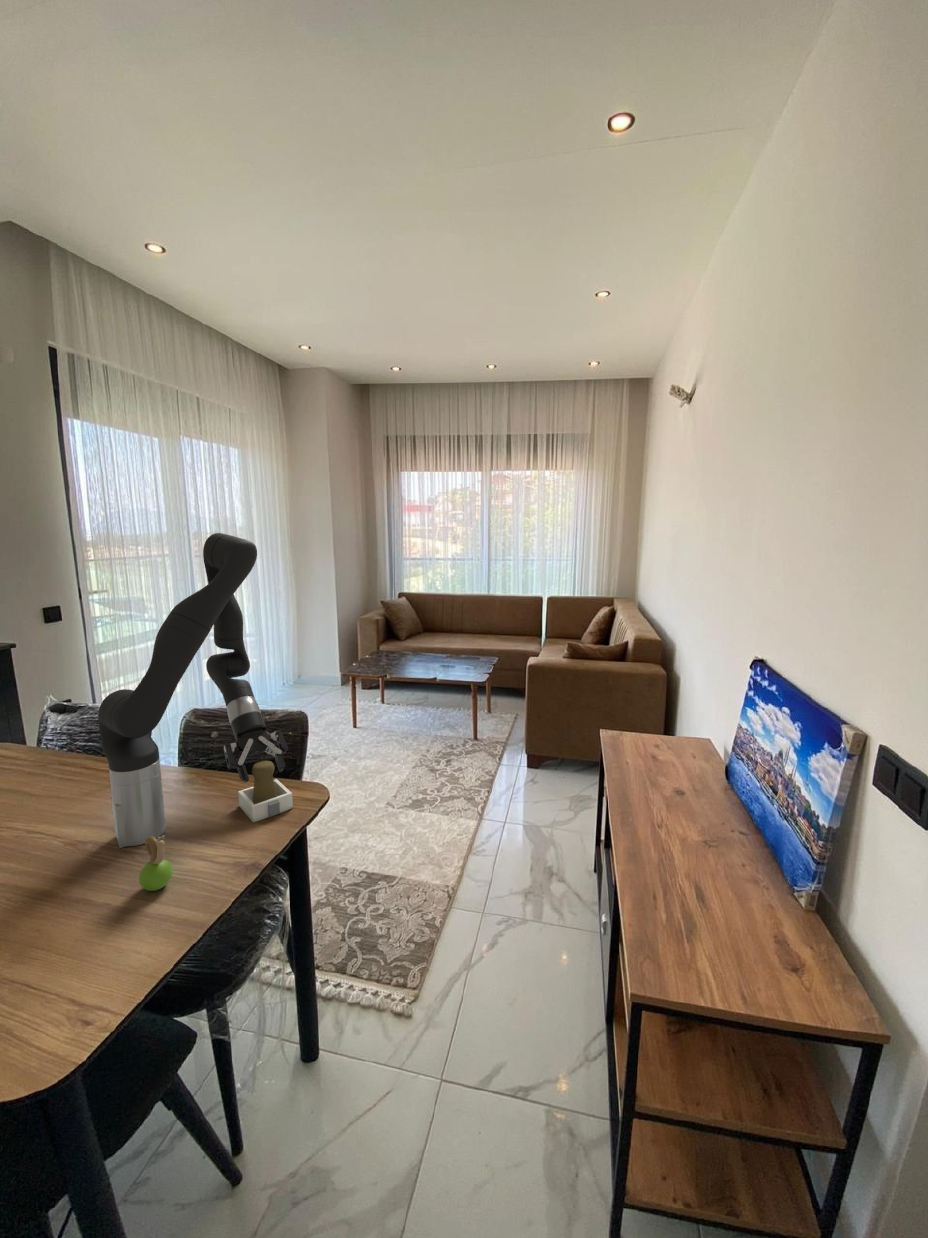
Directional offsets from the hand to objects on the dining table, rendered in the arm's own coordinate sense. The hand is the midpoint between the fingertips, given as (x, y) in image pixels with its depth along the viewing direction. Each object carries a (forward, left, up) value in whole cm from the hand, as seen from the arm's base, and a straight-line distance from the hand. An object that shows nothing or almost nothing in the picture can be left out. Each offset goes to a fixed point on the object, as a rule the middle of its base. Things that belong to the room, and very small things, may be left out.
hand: (264, 775), depth 119 cm
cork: (0, +1, -8) cm, 8 cm away
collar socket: (0, +1, -9) cm, 9 cm away
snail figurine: (-26, -14, -9) cm, 31 cm away
